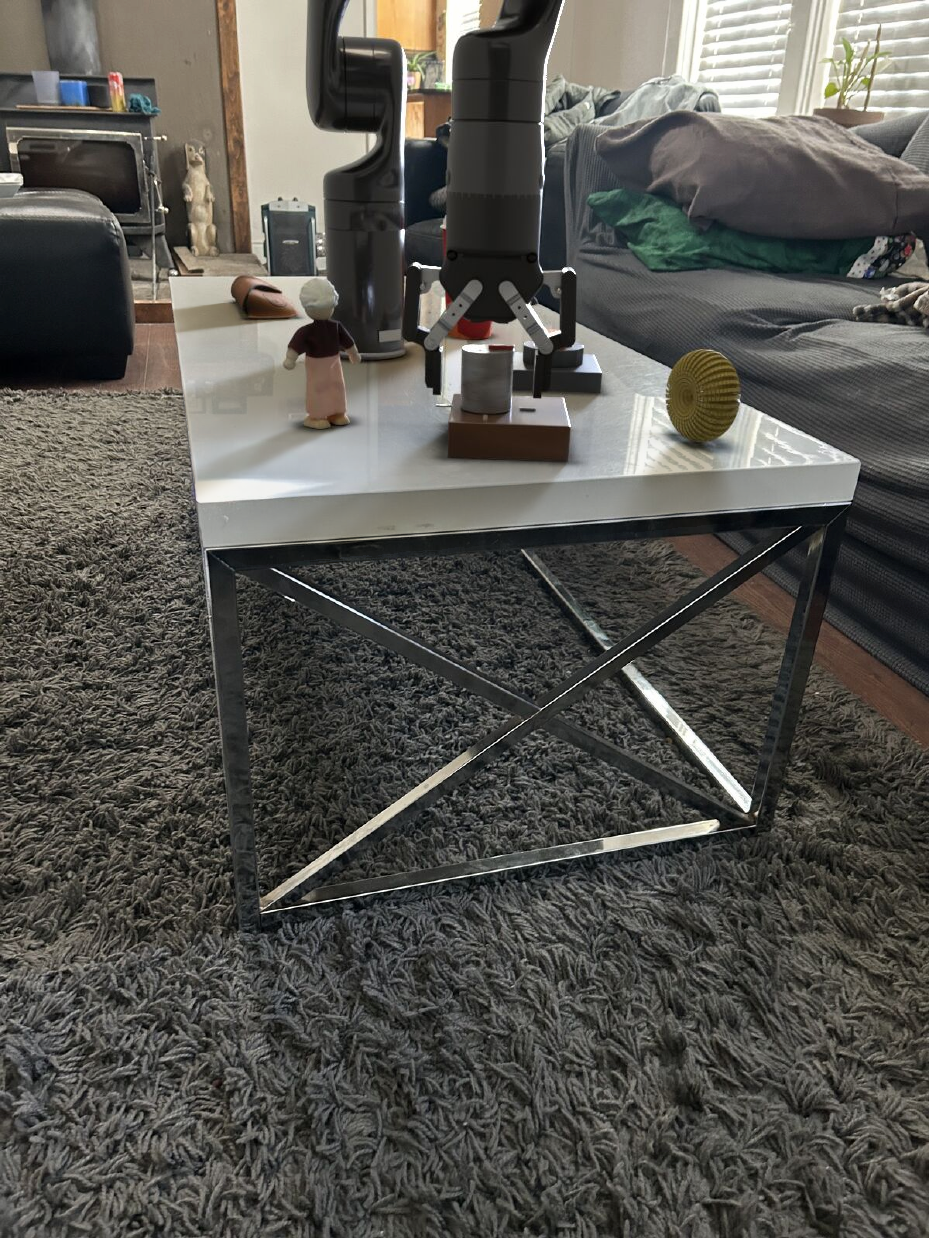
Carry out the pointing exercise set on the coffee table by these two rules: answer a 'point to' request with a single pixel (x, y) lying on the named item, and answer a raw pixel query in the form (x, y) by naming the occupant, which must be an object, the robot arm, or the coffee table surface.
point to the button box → (559, 370)
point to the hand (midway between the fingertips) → (486, 395)
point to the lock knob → (487, 378)
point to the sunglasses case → (261, 299)
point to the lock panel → (511, 431)
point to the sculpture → (702, 395)
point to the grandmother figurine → (322, 355)
